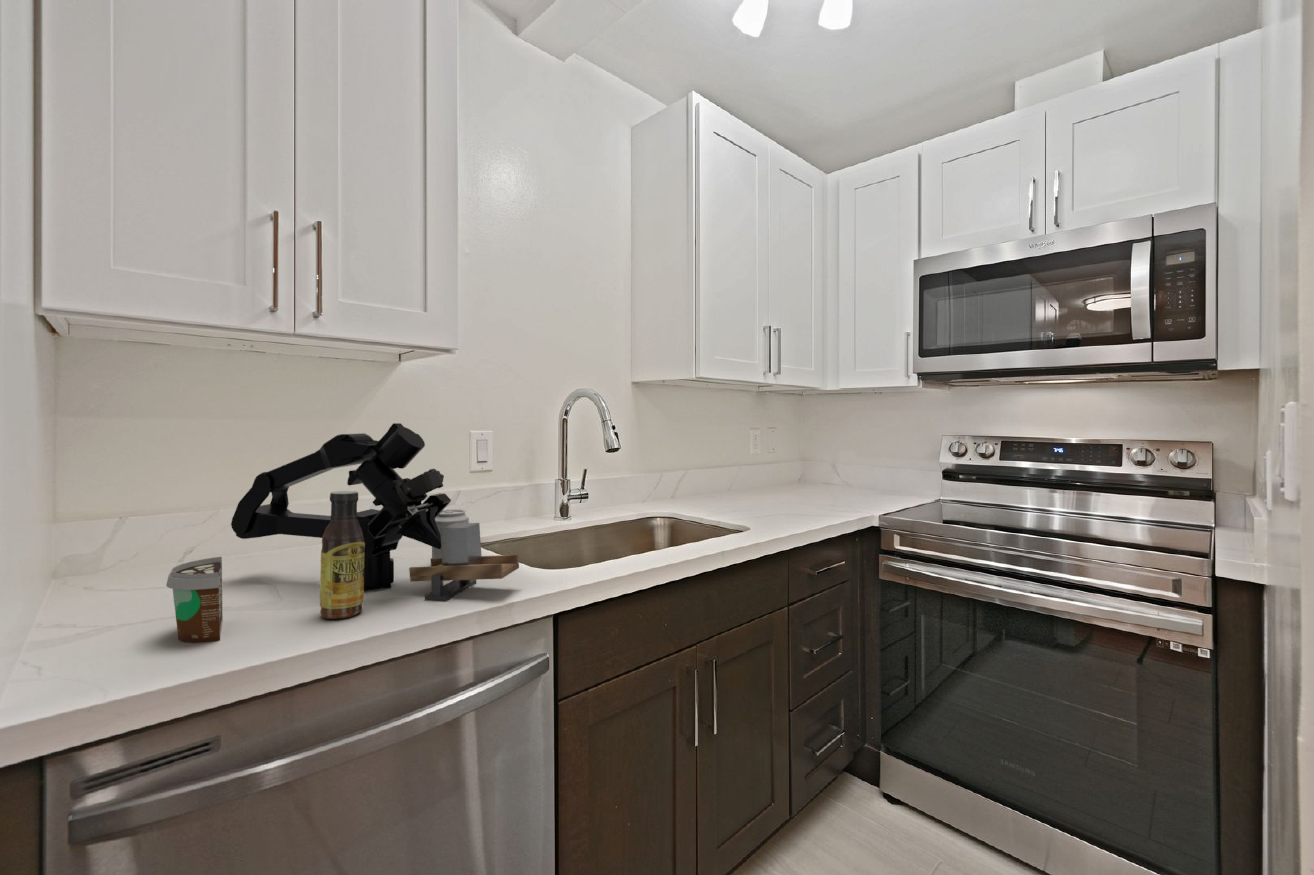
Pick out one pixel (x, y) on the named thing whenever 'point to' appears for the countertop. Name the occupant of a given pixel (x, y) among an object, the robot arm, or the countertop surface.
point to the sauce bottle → (342, 559)
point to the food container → (198, 599)
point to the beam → (467, 569)
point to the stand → (447, 588)
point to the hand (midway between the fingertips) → (442, 547)
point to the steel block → (461, 544)
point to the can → (448, 519)
